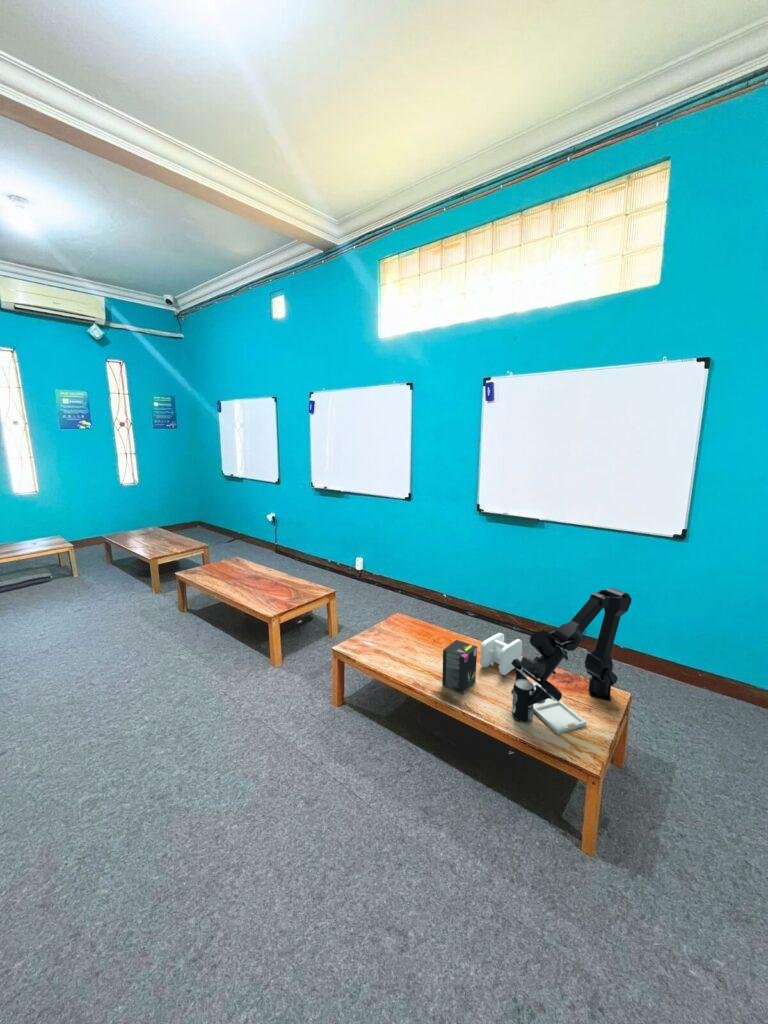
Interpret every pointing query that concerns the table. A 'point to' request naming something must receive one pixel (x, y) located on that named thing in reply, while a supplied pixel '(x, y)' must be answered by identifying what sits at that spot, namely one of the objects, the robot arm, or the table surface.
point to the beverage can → (522, 700)
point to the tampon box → (459, 666)
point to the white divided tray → (557, 715)
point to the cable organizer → (500, 653)
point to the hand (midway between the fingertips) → (519, 699)
